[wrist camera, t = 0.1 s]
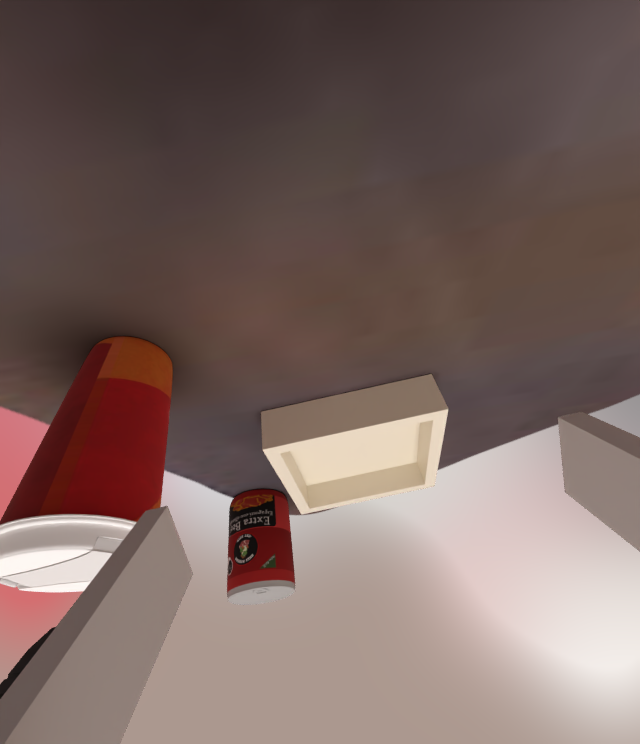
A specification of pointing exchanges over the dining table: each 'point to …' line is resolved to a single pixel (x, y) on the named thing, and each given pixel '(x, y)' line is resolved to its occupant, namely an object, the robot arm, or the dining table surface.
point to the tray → (357, 443)
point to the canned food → (259, 548)
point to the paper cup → (91, 470)
